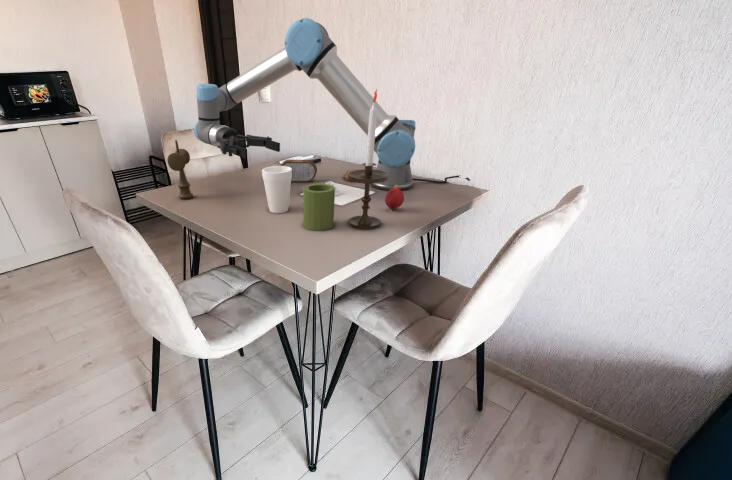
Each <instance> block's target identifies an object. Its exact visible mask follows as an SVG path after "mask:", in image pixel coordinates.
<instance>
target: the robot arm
mask: <svg viewBox="0 0 732 480" xmlns="http://www.w3.org/2000/svg"><path fill="white" fill-rule="evenodd" d="M295 71H298V72H301V71H303V72H304V74H306V76H307V77H308V78H309V79H310V80H314V79H316V80H318V81H319V82H320V84H322V86H323V87H324V88H325V89H326V90H327V92H328V93H329V94H330V95H331V96H332V98H334V99H335V101H336V102H337V103H338V104H339V105H340V106H341V108H343V109H344V111H345V112H346V113H347V114H348V116H350V118H351V119H352V120H353V121H354V122H355V124H357V126H359V128H360V129H361V130H362V131H363V133H365V134H366V136H367V137H368V127H369V114H370V109H372V106H373V103H375V107H376V109H377V119H376V131H375V142H374V153H376V156H377V158H378V162H377V165H376V168H375V170H380V171H384V172H386V173H388V180H386V181H384V182H380V183H372V184H371V186H372V187H373V188H376V189H378V190H383V191H389V190H390V189H392V188H394V186H395V185H398V186H399V187H398V188H399V189H400V190H401V191H405V190H408V189H410V188H412V187H413V182H414V181H416V182H427V183H433V184H434V183H436V184H446V183H447V182H448V180H450V179H457V178H460V177H459V176H460V175H451V176H447V177H445V178H444V179H443V180H441V181H440V180H433V179H424V178H416V177H415V178H414V177H413V175H412V169H411V161H412V158H413V156H414V154H415V151H416V141H415V132H416V121H415V120H414V119H399V118H398V116H396V115H395V114H391V115H390V114H388V113H387V112H386V111H385V110H384V108H383V107H382V106H381V105H380V104H379V103H378V101H377V100H376V101H375V102H373V99H374V96H373V95H371V93H370V91H368V89H367V88H366V87H365V86H364V84H363V83H361V81H360V80H359V79H358V78H357V76H356V75H355V74H353V72H352V71H351V70H350V68H349V67H348V66H347V65H346V63H344V62H343V60H342V59H341V58H340V57H339V55H338V46H337V44H336V43H335V42H334V41H333V40H332V39H331V38H330V35H329V32H328V31H327V29H326V28H325V26H324V25H322V24H321V23H319V22H317V21H315V20H314V19H312V18H309V17H304V18H300V19H297V20H295V21H294V22H292V24H290V26H289V27H288V29H287V31H286V33H285V36H284V47H283V48H282V49H280V50H278V51H277V52H275V53H273V54H272V55H270V56H269V57H268V58H266V59H264V60H262V61H261V62H259V63H257V64H256V65H254V66H253V67H251V68H250V69H248V70H246V71H245V72H242V73H241V74H240V75H238V76H236V77H234V78H233V79H231V80H230V81H229V82H226V83H225V84H223V85H222V86H220V87H218V85H217V84H215V83H214V84H213V83H198V84H196V95H195V96H196V97H195V98H196V105H197V117H198V118H197V121H196V123H195V124H194V127H193V134H194V136H195V138H196V139H197V140H198V141H200V142H202V143H204V144H206V145H210V146H212V147H216V148H218V149H219V150H220V152H221V154H222V155H228V157H233V155H235V156H237V157H240V158H243V159H246V160H247V159H248V148H249V147H260V148H262V147H263V148H265V149H268V150H271V151H273V152H277V153H280V152H281V143H280V142H279V141H275V140H273V138H272V137H270V136H269V135H267V136H260V135H252V134H246V135H242V134H240V133H238V131H237V130H236V129H235V128H233V127H229V126H226V125H223V124H220V123H221V122H220V112H224V111H229V110H231V109H233V108H234V107H235V106H237V105H238V104H240V103H241V102H242V101H245V100H246V99H248V98H250V97H251V96H253V95H255V94H257V93H258V92H260V91H262V90H264V89H265V88H267V87H268V86H270V85H273V84H274V83H276V82H278V81H279V80H281V79H283V78H284V77H286V76H288V75H290V74H291V73H293V72H295ZM464 179H466V181H468V182H471V179H470V178H469V177H467V178H464Z"/></svg>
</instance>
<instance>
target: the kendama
mask: <svg viewBox="0 0 732 480" xmlns="http://www.w3.org/2000/svg"><path fill="white" fill-rule="evenodd" d="M174 144H175V151H174V152H172V153H170V154H168V156H167V165H168V167H169V168H170V169H171V170H173V171H174V172H175V171H176V172H178V175H179V180H178V184H177V187H178V188H179V195H178V198H179V199H182V200H187V199H191V198H194V194H193V192H192V191H191V188H190V186H191V183H190V182H189V181H188V178H187V175H186V173H185V170H184V169H185V167H186V165H187V164H189V163H190V160H191V155H190V152H189V151H188V150H187V149H184V148H180V147H179V143H178V140H177V139H175V143H174Z"/></svg>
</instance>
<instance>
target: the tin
mask: <svg viewBox="0 0 732 480" xmlns="http://www.w3.org/2000/svg"><path fill="white" fill-rule="evenodd" d="M280 166H287V167H290V168H292V178H291V183H309V182H311V181H313V180H314V179H315V178H316V175H317V173H318V168H317V165H316V163H315V162H314V161H313V160H310V159H286V160H284V161H282V163H281V165H280Z"/></svg>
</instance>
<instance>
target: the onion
mask: <svg viewBox="0 0 732 480" xmlns="http://www.w3.org/2000/svg"><path fill="white" fill-rule="evenodd" d="M398 187H399V186H398V185H395V186H394V188H392V189H390V190H387V193H386V194H385V196H384V202H385V205H386V206H387V207H388V208H389V209H390V210H392V211H396V210H397V209H398V208H400V207H401V206H402V205H403V203H404V201H405V195H404V193H403V190H400V189H399V188H398Z"/></svg>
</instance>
